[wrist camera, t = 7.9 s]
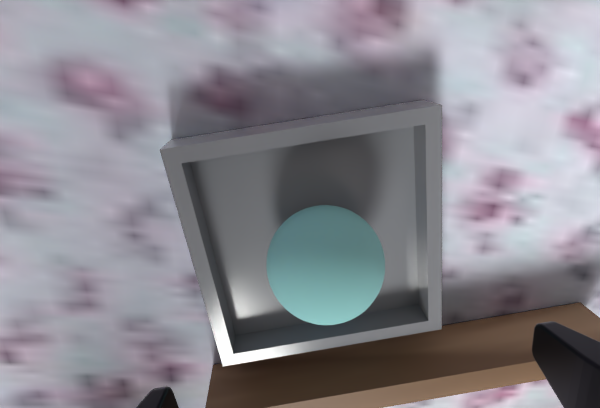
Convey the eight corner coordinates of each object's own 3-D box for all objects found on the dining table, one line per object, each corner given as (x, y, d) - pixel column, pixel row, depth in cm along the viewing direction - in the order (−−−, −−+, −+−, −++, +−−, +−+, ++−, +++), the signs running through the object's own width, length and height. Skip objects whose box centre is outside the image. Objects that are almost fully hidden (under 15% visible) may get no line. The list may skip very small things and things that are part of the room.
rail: (576, 321, 20) (627, 364, 17) (218, 382, 19) (210, 437, 16) (580, 302, 19) (633, 344, 16) (213, 364, 19) (203, 418, 16)
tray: (426, 306, 18) (441, 329, 17) (226, 339, 18) (222, 366, 17) (423, 99, 15) (441, 104, 13) (171, 139, 14) (159, 149, 13)
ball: (368, 271, 17) (406, 338, 13) (273, 290, 17) (281, 364, 13) (360, 180, 15) (401, 224, 11) (255, 199, 15) (257, 251, 11)
